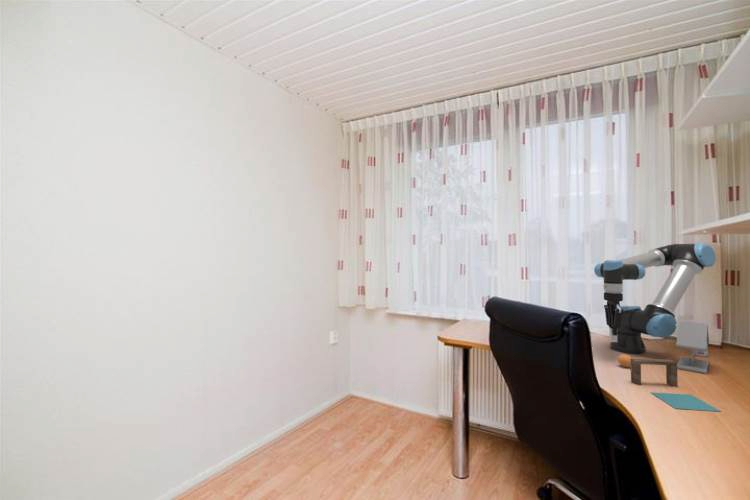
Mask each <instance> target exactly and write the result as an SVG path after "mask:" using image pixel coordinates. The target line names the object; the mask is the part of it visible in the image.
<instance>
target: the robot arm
mask: <svg viewBox="0 0 750 500" xmlns="http://www.w3.org/2000/svg"><path fill="white" fill-rule="evenodd" d="M716 260H717V255H716V252H715V249H714V248H713V247H712V246H711V245H710V244H708V243H700V242H695V243H673V244H667V245H664V246H660V247H656V248H652V249H649V250H648V251H647V252H645V253H641V254H638V255H634V256H629V257H627V258H621V259H619V260H618V259H613V260H612V259H609V260H608V259H606V260H604V261H603V262H602V263H597V264H596V265H595V266H594V274H595V276H597V277H599V278H603V285H602V287H603V291H604V292H603V300H604V301H606V304H603V308H604V313H605V321H606V325H607V327H608V329H609V334H608V337H609V340H608V341H609V342H610V343H609V348H610V349H612V350H613V351H617V352H621V353H628V354H645V353H646V352H647V351H646V349H647V347H646V345H645V343H644V340H643V338H642V334H643V335H647V336H650V337H654V338H668V337H671V336H672V335H673V334H674V333H675V332H676V329H677V328H678V322H677V319H676V318H675V317H676V315H675V313H674V312H675V309H676V308H677V307H678V305H679V304H680V302H681V300H682V298H683V296H684V295H685V293H686V291H687V290H688V288H689V286H690V285H691V283H692V281H693V280H694V278H695V277H696V275H699V274H701V273H702V272H703V270H704V269H705V268H710V267H712V266H714V264H715V263H716ZM663 266H673V269H672V270H671V272H670V274H669V275H668V277H667V278H666V280H665V282H664V284H663V285H662V287H661V288H660V290H659V292H658V294H657V295H656V297H655V298H654V300H653V302H652V303H648V304H646V305H645V307H644V309H642V308H641V306H640V305H639V306H638V305H620V303H621V302H623V301H624V299H623V298H624V293H623V291H624V280H625V281H626V280H629V281H630V280H631V281H632V280H633V281H636V280H641V279H643V278H645V276H646V269H648V268H652V267H656V268H657V267H663Z"/></svg>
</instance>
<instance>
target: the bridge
mask: <svg viewBox="0 0 750 500" xmlns="http://www.w3.org/2000/svg"><path fill="white" fill-rule="evenodd" d="M677 364H678V362H676V361H675V360H672V359H653V358H652V359H651V358H632V359H631V366H630V382H631V383H633V384H634V385H640V386H641V385H642V365H650V366H651V365H652V366H655V365H656V366H665V368H666V369H665V370H666V371H665V372H666V373H665V375H666V377H665V379H666V382H665V383H666V384H667V385H669V386H671V387H678V383H679V382H678V381H679V380H678V369H677Z"/></svg>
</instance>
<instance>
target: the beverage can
mask: <svg viewBox="0 0 750 500" xmlns="http://www.w3.org/2000/svg"><path fill="white" fill-rule="evenodd" d="M706 347H707V352H705V351H699V350H695V356H698V357H708V356H709V349H708V348H709V344H707V345H706Z"/></svg>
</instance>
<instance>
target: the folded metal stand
mask: <svg viewBox="0 0 750 500" xmlns="http://www.w3.org/2000/svg"><path fill="white" fill-rule="evenodd" d="M676 333H677V335H676V343H675V344H676V345H675V347H676V348H679V349H685V350H691V357H686V356H680V359H679V360H678V362H677V370H682V371H683V370H684V371H686V372H687V371H688V372H695V373H697V374H699V373H700V374H705V375H708V368H709V366H710V364H711V363H710V360H705V359H704V360H703V359H697V358H695V357H696V355H695V350H699V351H705V352H707V347H706V345H707V344H708V345H709V344H710V338H709V337H710V336H709V335H710V334H709V327H708V323H703V322H695V321H694V322H692V321H684V320H678V322H677V331H676Z"/></svg>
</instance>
